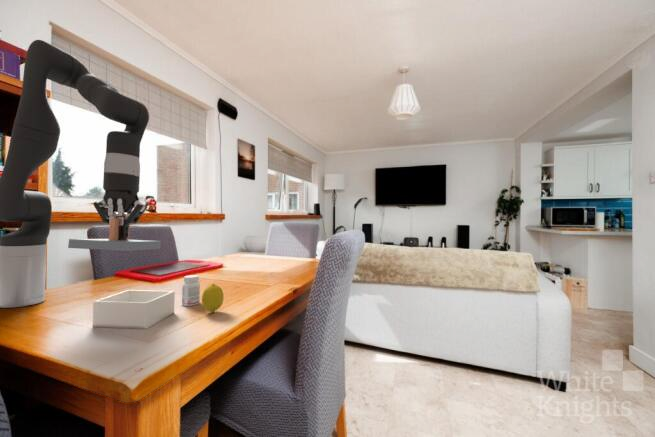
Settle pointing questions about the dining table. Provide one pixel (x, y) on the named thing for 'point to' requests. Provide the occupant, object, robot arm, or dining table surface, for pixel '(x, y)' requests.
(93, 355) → the dining table surface
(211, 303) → the lemon
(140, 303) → the box
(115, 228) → the lid
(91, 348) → the dining table surface
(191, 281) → the pill bottle
